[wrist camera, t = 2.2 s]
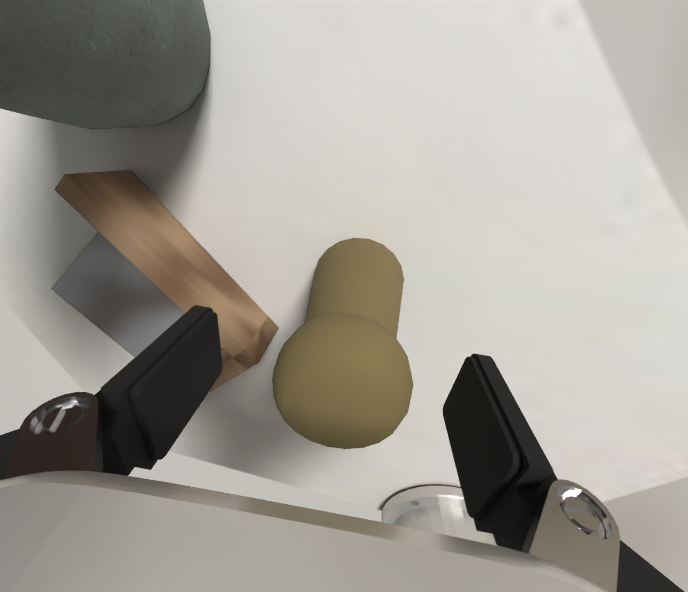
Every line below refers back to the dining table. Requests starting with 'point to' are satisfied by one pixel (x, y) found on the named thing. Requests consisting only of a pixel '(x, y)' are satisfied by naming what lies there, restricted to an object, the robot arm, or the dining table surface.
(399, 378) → the cork
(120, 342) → the corner arena
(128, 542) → the robot arm
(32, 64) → the bottle
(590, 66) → the dining table surface
